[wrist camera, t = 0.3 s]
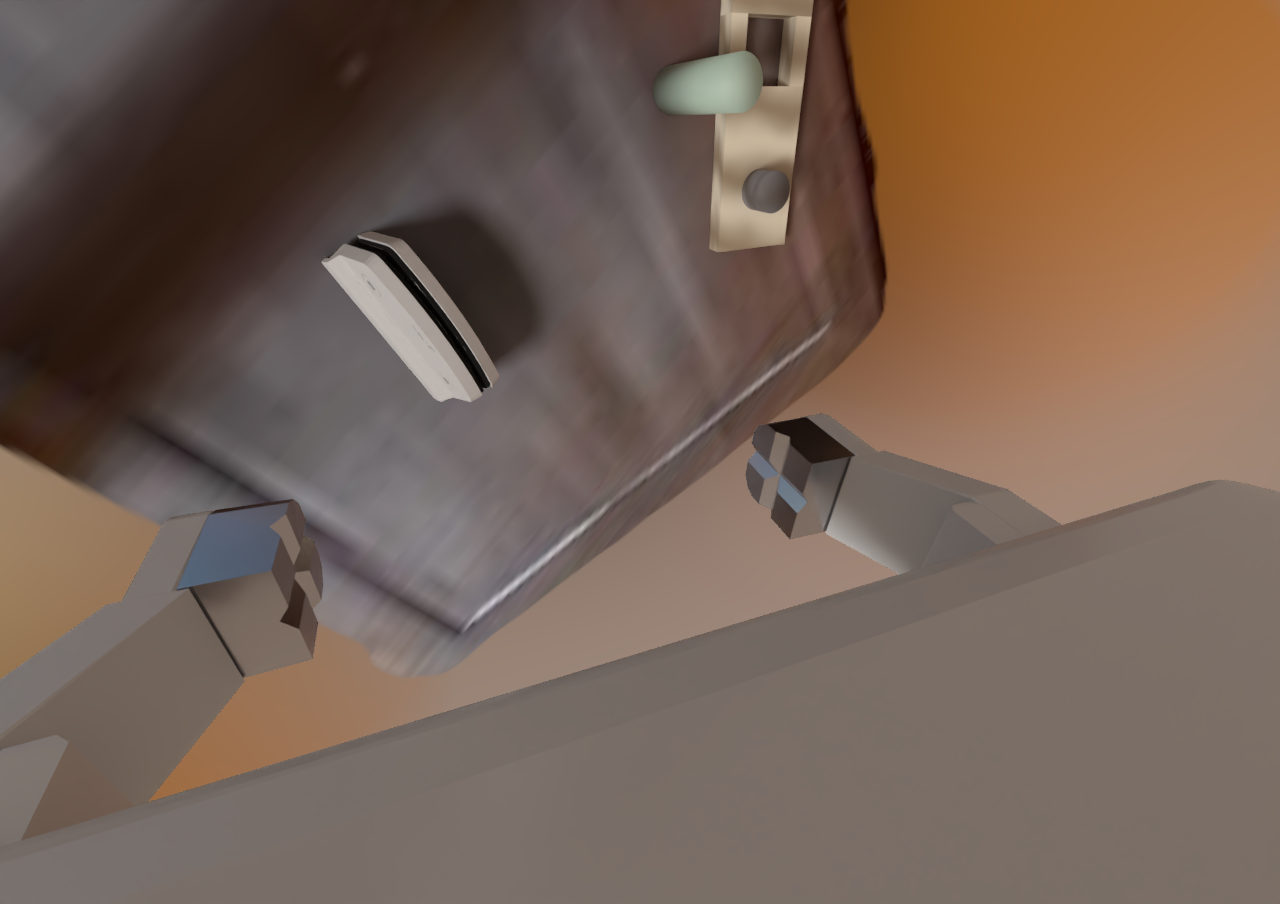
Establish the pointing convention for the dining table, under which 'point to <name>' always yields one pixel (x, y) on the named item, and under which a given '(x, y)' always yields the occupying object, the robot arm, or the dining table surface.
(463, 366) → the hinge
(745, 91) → the peg
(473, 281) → the dining table surface
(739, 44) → the hole plate
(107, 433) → the dining table surface
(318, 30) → the dining table surface
